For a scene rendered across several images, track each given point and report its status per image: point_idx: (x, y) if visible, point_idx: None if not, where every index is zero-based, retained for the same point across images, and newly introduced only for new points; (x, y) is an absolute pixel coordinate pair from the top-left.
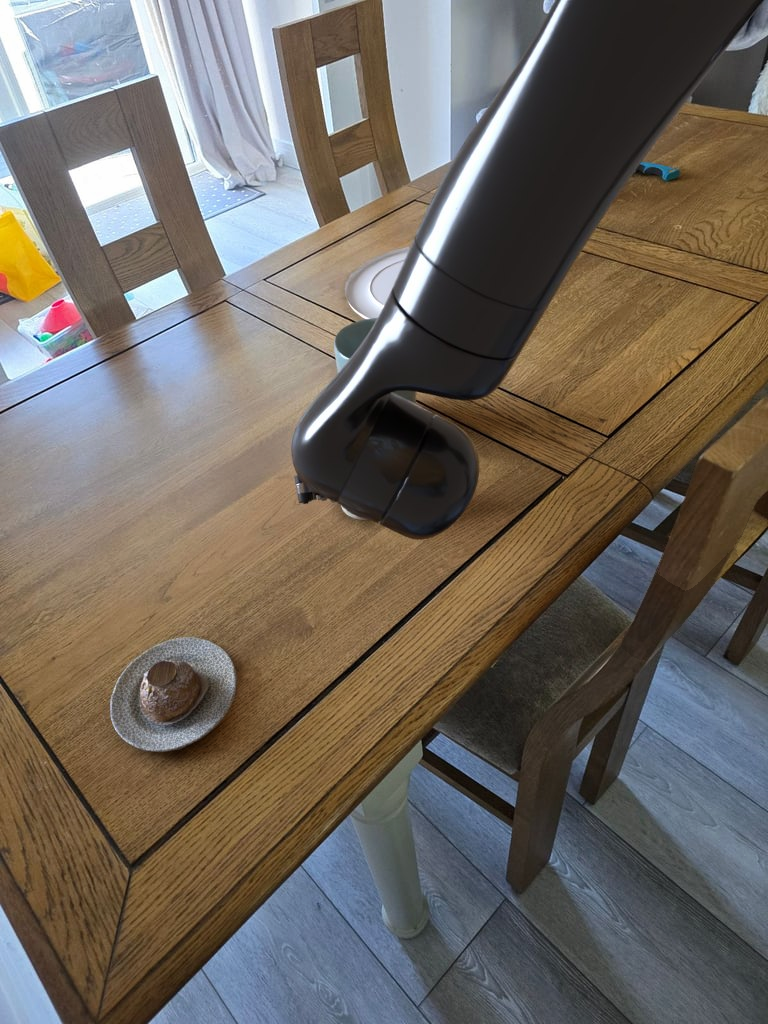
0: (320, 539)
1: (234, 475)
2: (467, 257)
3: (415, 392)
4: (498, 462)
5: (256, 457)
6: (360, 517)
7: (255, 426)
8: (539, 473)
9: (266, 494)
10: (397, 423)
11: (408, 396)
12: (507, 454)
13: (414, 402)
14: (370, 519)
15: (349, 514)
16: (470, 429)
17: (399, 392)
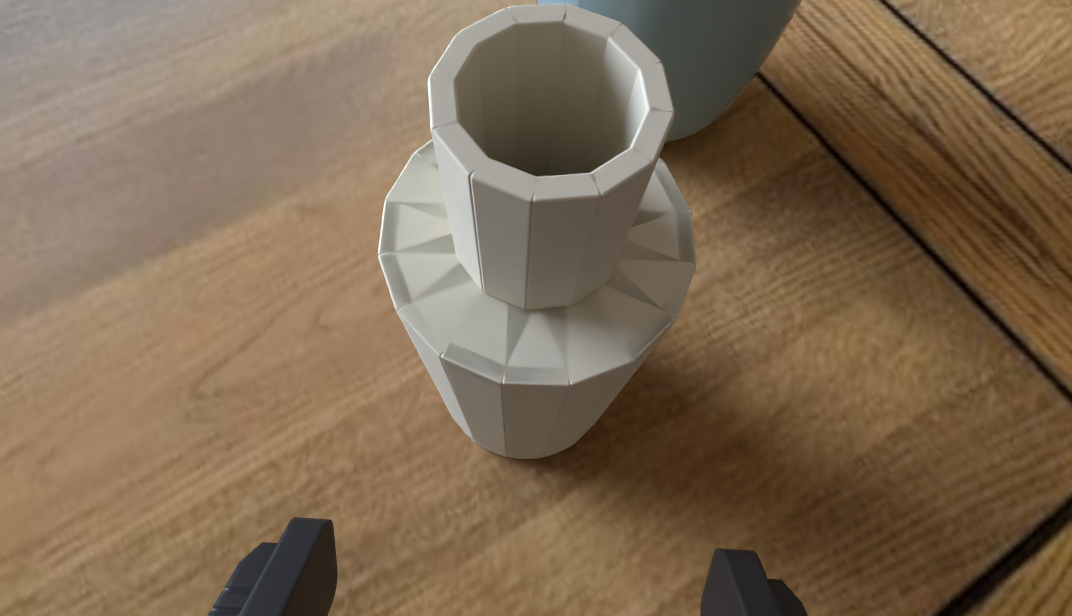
0: (348, 493)
1: (183, 162)
2: None
3: (772, 49)
4: (933, 341)
5: (263, 116)
6: (487, 449)
7: (294, 11)
8: (1051, 423)
9: (247, 260)
10: None
11: (752, 63)
12: (962, 318)
13: (752, 78)
14: (517, 458)
15: (458, 424)
16: (867, 192)
17: (734, 47)
